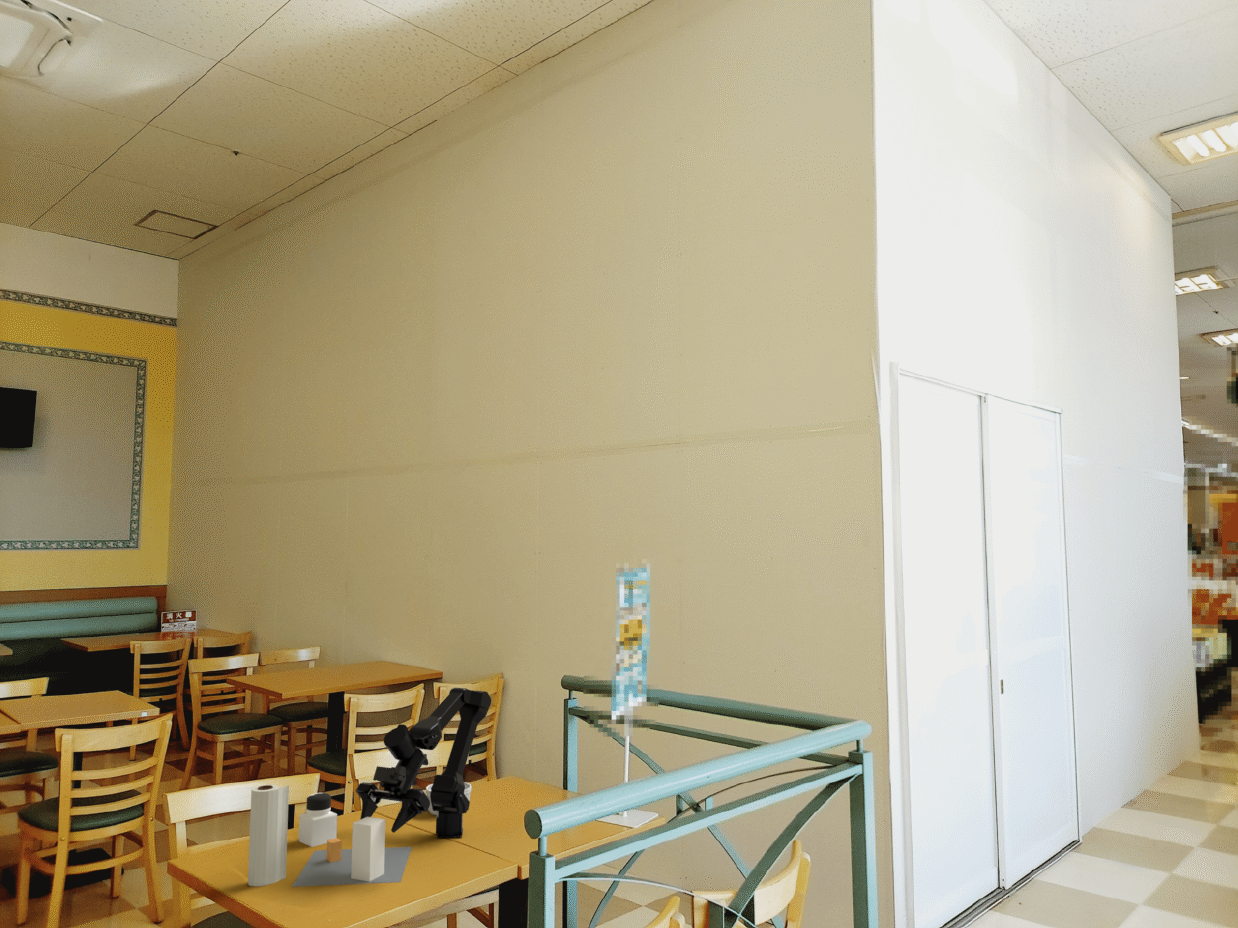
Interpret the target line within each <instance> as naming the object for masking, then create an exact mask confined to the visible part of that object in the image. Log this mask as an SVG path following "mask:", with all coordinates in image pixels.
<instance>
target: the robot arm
mask: <svg viewBox="0 0 1238 928" xmlns="http://www.w3.org/2000/svg"><path fill="white" fill-rule="evenodd" d="M491 704H492V698H491V696H490V695H489V693H488V691H486V690H485V691H484V690H474V689H473V690H472V689H468V688H465V687H454V688H451V689H450V690H449V693H448V694H447V696H446V697H445V698H444V699H443V701H441V702H440V703H439V705H438V706H437V707H436V708H435V710H434V711H433V712H432V713H430V715H429V716H428V717H426V718H424V719H421V720H418V721H417V722H416V723H415V724H413V725H412V726H411V727H410V728H409V727H408V726H407V724H403V723H402V724H401V723H400V724H397V727H395V728H392V729H391V730H389V731H388V732H387V733H386V734H385V735H384V738H383V744H384V746H385V747H386V749H387V750H388V751H389V753H390V754H391V755H392V757H393V758H394V759H395V760H397V761H398V762H397V763H396V765H395V766H394V767H393V766H391V767H385V766H376V768H375V772H374V774H373V777H372V780H373V781H375V782H376V781H377V782H380V783H379V785H380V787H381V788H383V790H382V789H379V788H378V786H377V785H376V784H375V783H372V782H365V781H364V782H360V783H359V784H358V786H357V788H356V790H355V792H356V794H357V796H358V797H359V798H360V800H361V802H362V805H361V813H360V817H359V818H360V819H359V820H361V819H363V818H365V817H373V815H374V813H375V812H376V811H377V809H378V808H379V806H378V804H379V803H380V802H381V801H382V800H387V801H395V802H399V803H400V802H401V807H400V810H399V811H398V814H397V816H396V818H395V820H394V822H393V823H392V827H391V829H390V831H391V832H392V833H393V834H394V833H396V832H397V831H399V829H401V828H402V827H403V826H405V824H407V823H408V822H410V821H411V820H412V819H414V818H416V816H418V815H421V814H422V812H423V813H427V812H428V811H429V810H428V809H429V806H430V800H429V798H428V797H427V794H426V792H425V791H424V790H423V789H421V788H420V789H419V788H412V787H413V786H416V785H417V784H418V781H417V780H416V778H417V776H418V774H419V772H420V770H421V768H422V767H423V766H428V765H429V760H428V758H427V755H428V754H427V753H424V752H423V751H424V750H425V751H434V750H435V749H436V747H437V746H438V745H439V743H440V742H441V740H442V738H443V730H444V729H445V727H446V726H447V725H448V724H449V723H450V722H451V720H452V719H453V718H454V717H455V716H456V715H457V713H458V714H459V717H460V718H459V724H458V727H457V730H456V733H455V736H454V738H453V739H454V740H453V743H452V746H451V749H450V753H449V756H448V759H447V762H446V765H445V769H444V771H442V773H441V774H436V775H435V777H434V778H433V782H432V784H433V786H432V787H431V793H430V799H431V804H432V809H433V811H439V813H438V815H436V818H435V822H436V823H435V834H436V838H437V839H445V838H444V837H446V839H447V838H448V839H450V838H451V837H454V838H463V834H464V833H463V832H464V827H463V825H464V824H463V820H464V818H463V816H464V814H466V813H467V812H468V811H469V809H470V805H471V804H470V803H471V802H470V801H471V800H470V801H469V800H468V798H467V797H466V796H465V794H464V790H465V785H464V782H465V781H464V777H463V775H464V772H465V768H466V765H467V762H468V759H469V755H470V752H471V748H472V744H473V741H474V737H475V734H476V732H477V731H476V730H477V727H478V725H479V724H480V723H481V722H482V721H483V720H484V719H485V717H486V716H487V714H488V712H489V709H490V707H491ZM422 750H423V751H422Z"/></svg>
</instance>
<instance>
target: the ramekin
mask: <svg viewBox="0 0 1238 928" xmlns="http://www.w3.org/2000/svg"><path fill="white" fill-rule="evenodd" d="M464 785H465V790H464V794H465V796H466V797H467V798H468V800H469V801H471V800H470V799H471V793H472V784H471V783H469V782H466V781H464ZM432 786H433V783H431V784H428V785H427V786H426V787H425V794H426V796H427V797H428V798H429V800H430V806H429V809H428V811H429V813H430V814H431V815H434V816H437V815H438V813H439V811H433V809H432V804H431V799H430V793H431V787H432Z"/></svg>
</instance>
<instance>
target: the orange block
mask: <svg viewBox="0 0 1238 928" xmlns="http://www.w3.org/2000/svg"><path fill="white" fill-rule="evenodd" d="M341 849H342V840H341V839H339V838H338V837H337V838H335V839H330V840H327V843H326V850H327V853H326V860H327V861H329V862H330V863H331V862H335V861H339V860H341Z"/></svg>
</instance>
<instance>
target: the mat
mask: <svg viewBox="0 0 1238 928" xmlns="http://www.w3.org/2000/svg"><path fill="white" fill-rule="evenodd" d="M412 848H413V847H412V846H399V847H395V846H394V847H385V853H384V874H383V875H381V876H379V877H377V878H375V879H373V880H372V881H370V882H369V881H364V880H358V879H353V878H351V873H352V848H348V849H346V848H345V849H342V848H341V860H339V861H335V862H331V863H330V862H329V861H327V860H326V853H327V849H324V850H323V849H322V850H321V849H319V850H314V851H313V853H312V854H311V856H310V857H309V859H308V861H307V862H306V864H305V865H304V867H303V868H302V870H301V871H300V873H299V874H298V876H297V878H296V879H295V881H294V882H293V883H292V886H291V888H293V887H296V888H297V887H299V888H301V887H319V886H320V887H321V886H323V887H324V886H343V885H344V886H345V885H364V884H388V883H389V884H390V883H401V881H402V880H403V875H404V872H405V869H406V866H407V863H408V862H409V861H408V860H409V857H410V855H411V851H412Z"/></svg>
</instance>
